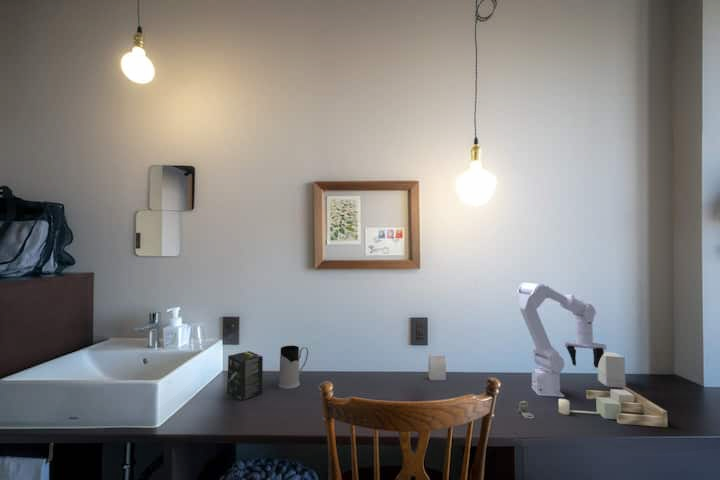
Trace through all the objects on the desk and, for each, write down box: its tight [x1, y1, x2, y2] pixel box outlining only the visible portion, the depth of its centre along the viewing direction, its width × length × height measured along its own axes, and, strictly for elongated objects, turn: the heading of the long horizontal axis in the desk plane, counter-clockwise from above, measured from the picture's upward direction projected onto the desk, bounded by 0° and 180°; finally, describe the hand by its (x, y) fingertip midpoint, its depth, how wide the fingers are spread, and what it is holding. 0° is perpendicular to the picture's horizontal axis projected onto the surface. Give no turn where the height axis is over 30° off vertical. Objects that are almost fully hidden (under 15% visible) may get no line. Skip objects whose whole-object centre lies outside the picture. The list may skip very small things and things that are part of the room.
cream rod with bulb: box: [558, 397, 622, 420], centre depth 114 cm, size 18×5×5 cm, turn 82°
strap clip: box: [513, 400, 535, 420], centre depth 115 cm, size 8×3×4 cm, turn 3°
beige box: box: [427, 354, 447, 381], centre depth 147 cm, size 4×7×10 cm, turn 90°
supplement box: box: [597, 351, 627, 389], centre depth 142 cm, size 7×7×13 cm
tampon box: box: [226, 350, 264, 402], centre depth 129 cm, size 11×9×15 cm
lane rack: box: [585, 386, 669, 428], centre depth 117 cm, size 14×20×5 cm
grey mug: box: [277, 345, 309, 390], centre depth 141 cm, size 9×14×15 cm, turn 139°
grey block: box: [609, 388, 635, 403], centre depth 121 cm, size 5×5×5 cm
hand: (584, 365), depth 136 cm, fingers open, 7 cm apart
